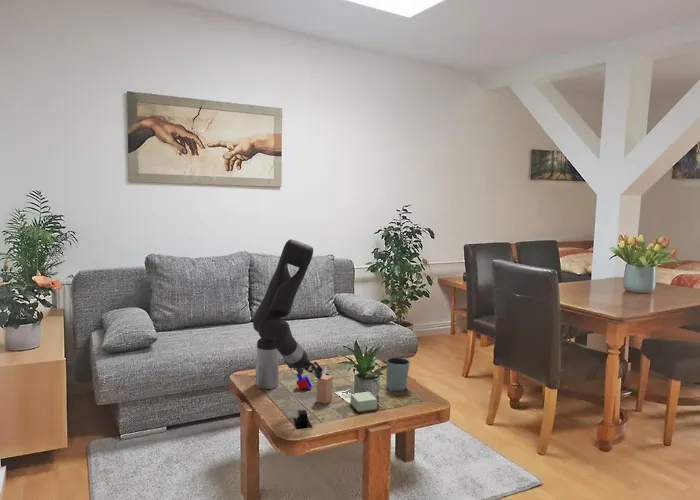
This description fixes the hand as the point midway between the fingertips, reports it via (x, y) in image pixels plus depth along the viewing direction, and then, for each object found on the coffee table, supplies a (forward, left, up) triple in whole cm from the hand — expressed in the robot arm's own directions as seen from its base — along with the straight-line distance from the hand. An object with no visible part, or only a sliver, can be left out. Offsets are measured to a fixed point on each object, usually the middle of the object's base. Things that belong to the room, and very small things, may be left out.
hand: (310, 374), depth 199 cm
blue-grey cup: (+43, +10, -14) cm, 46 cm away
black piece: (-6, -10, -15) cm, 19 cm away
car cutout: (+15, +29, -15) cm, 36 cm away
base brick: (+21, -4, -14) cm, 25 cm away
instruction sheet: (+20, +7, -14) cm, 25 cm away
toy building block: (+4, +21, -14) cm, 26 cm away
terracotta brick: (+8, +6, -14) cm, 17 cm away
